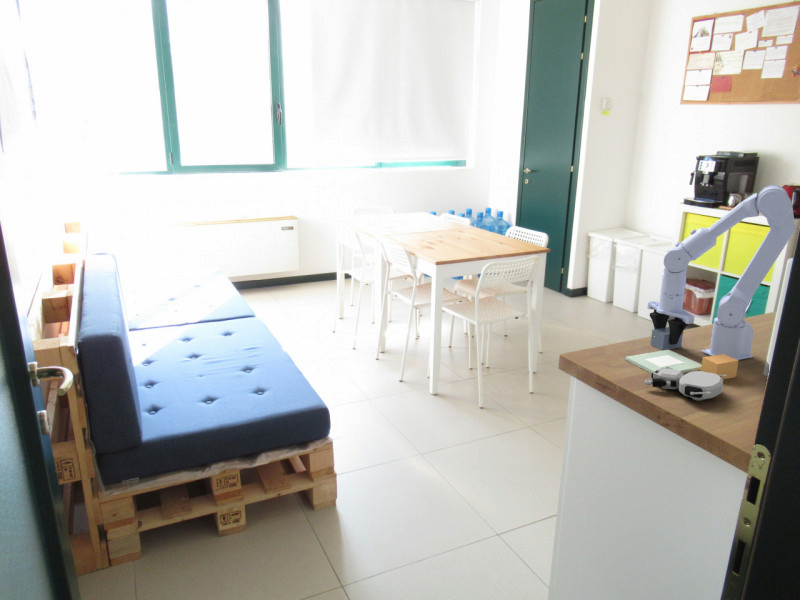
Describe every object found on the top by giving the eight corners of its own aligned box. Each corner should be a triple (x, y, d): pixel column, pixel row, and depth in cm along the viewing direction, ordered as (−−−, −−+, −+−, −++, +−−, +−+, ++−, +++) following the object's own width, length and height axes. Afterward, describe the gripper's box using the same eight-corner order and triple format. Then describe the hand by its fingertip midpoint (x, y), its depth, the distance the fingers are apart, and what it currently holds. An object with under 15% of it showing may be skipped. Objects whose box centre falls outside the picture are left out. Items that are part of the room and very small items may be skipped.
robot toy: (640, 394, 136) (712, 410, 126) (641, 376, 135) (713, 390, 125) (660, 378, 144) (728, 391, 134) (661, 360, 143) (730, 372, 133)
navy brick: (668, 341, 165) (670, 326, 164) (681, 347, 161) (683, 331, 160) (650, 344, 163) (652, 329, 162) (662, 350, 159) (664, 334, 158)
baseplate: (668, 352, 158) (668, 349, 157) (704, 369, 147) (705, 365, 147) (625, 359, 153) (625, 356, 153) (659, 377, 142) (660, 374, 142)
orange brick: (720, 370, 146) (723, 353, 145) (735, 377, 142) (738, 360, 141) (700, 374, 144) (702, 357, 143) (714, 381, 140) (717, 364, 139)
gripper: (640, 287, 163) (635, 334, 167) (681, 301, 150) (675, 352, 154) (661, 285, 165) (655, 331, 169) (703, 298, 152) (696, 348, 156)
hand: (666, 341), depth 162 cm, fingers closed on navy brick, 4 cm apart
